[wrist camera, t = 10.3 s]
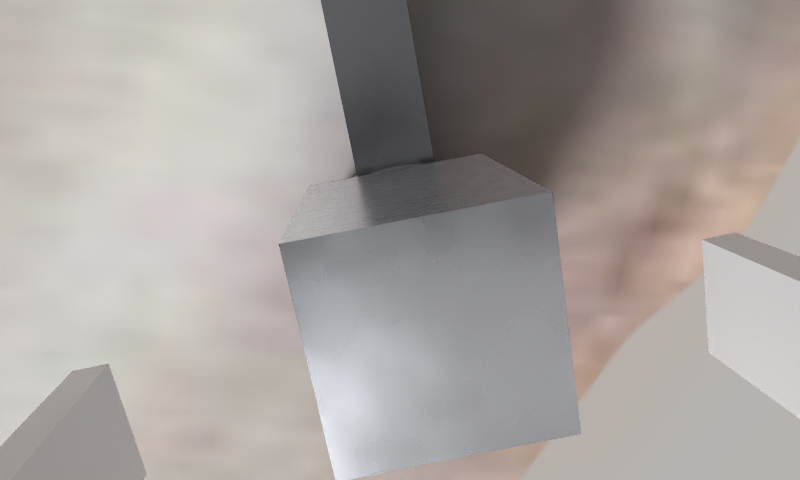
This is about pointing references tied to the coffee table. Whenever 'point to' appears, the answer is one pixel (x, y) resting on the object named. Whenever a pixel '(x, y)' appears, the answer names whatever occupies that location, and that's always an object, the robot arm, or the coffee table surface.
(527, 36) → the coffee table surface
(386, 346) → the light grey block
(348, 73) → the ratchet
